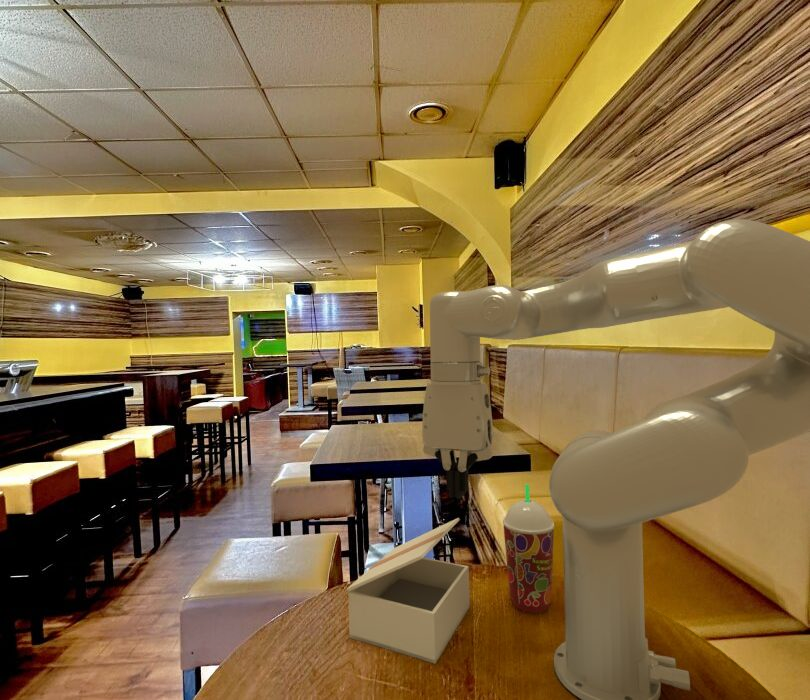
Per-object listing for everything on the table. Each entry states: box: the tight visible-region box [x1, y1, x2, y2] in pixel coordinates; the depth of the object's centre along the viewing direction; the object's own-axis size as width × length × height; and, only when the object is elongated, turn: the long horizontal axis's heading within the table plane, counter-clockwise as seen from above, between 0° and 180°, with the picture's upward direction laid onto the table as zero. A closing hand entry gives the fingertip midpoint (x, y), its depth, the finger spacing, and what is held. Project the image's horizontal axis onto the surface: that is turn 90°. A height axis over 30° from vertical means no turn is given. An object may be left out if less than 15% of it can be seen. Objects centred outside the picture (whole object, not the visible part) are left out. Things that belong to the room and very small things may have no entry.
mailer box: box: [347, 556, 471, 664], centre depth 71 cm, size 14×15×7 cm
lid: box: [346, 517, 461, 593], centre depth 72 cm, size 14×16×1 cm
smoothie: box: [502, 483, 555, 614], centre depth 75 cm, size 8×8×20 cm
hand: (457, 495), depth 68 cm, fingers closed
